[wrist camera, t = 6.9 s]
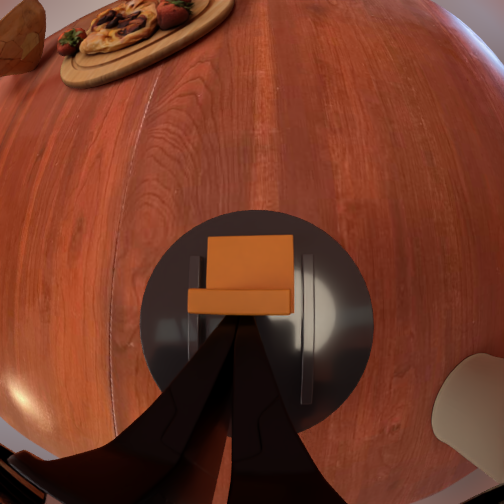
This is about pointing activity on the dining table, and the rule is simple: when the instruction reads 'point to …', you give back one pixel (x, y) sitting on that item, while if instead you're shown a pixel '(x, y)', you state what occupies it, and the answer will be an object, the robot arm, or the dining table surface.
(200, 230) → the round container with rails
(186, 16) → the wooden plate
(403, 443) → the dining table surface
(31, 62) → the bowl
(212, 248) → the slider
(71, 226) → the dining table surface
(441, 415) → the can
